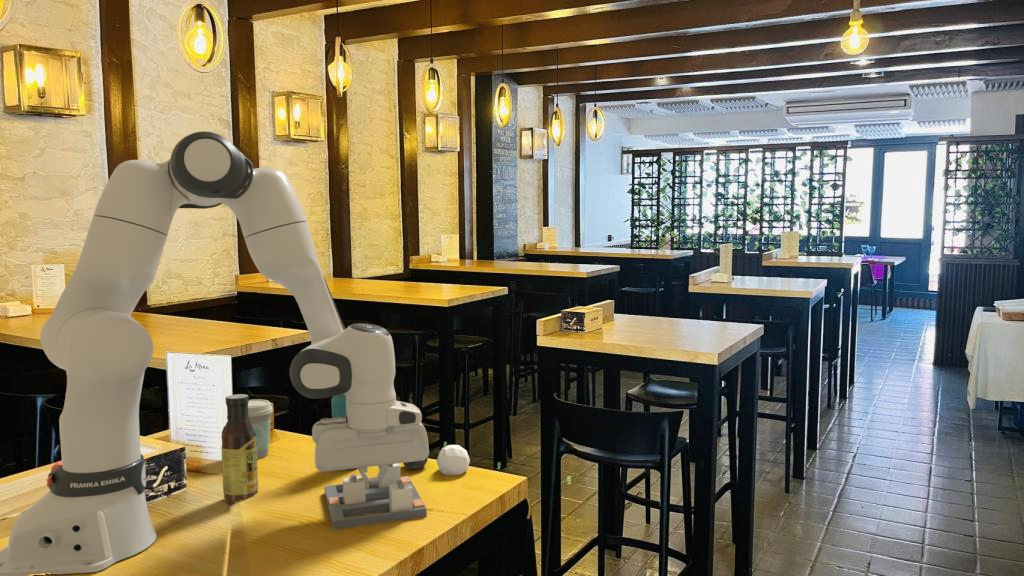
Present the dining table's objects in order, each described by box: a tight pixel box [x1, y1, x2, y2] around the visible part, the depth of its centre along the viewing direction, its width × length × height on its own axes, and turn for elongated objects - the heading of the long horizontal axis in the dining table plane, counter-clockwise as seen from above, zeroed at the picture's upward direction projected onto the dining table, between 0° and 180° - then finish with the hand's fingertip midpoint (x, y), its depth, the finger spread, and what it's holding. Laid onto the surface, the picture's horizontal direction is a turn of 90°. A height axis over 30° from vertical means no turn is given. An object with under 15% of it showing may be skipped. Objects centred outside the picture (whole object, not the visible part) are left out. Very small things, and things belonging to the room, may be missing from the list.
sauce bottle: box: [220, 393, 259, 505], centre depth 136 cm, size 6×6×20 cm
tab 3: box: [388, 480, 413, 512], centre depth 126 cm, size 4×3×6 cm
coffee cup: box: [248, 398, 274, 460], centre depth 161 cm, size 8×8×12 cm
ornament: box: [436, 444, 471, 476], centre depth 148 cm, size 6×7×7 cm
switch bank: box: [324, 475, 428, 531], centre depth 131 cm, size 16×17×3 cm
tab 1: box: [342, 473, 367, 505], centre depth 130 cm, size 4×3×6 cm
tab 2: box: [378, 463, 402, 488], centre depth 138 cm, size 4×3×6 cm
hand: (373, 488), depth 131 cm, fingers closed
